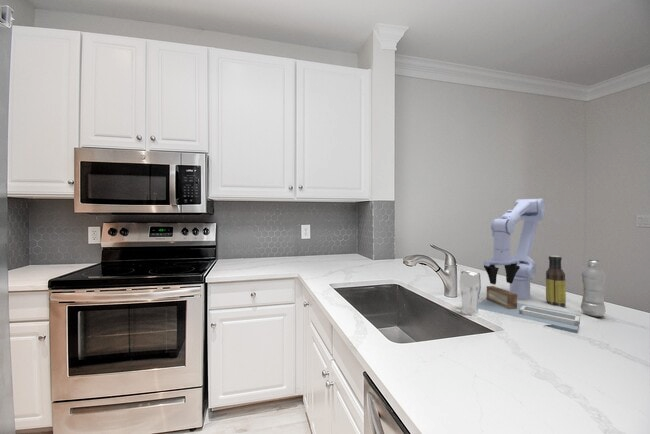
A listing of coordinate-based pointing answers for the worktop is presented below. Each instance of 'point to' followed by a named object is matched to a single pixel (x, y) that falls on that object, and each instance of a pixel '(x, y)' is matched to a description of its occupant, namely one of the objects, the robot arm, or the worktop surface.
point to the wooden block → (502, 297)
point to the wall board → (537, 315)
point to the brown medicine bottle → (555, 283)
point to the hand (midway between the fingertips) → (501, 283)
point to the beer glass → (470, 291)
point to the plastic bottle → (593, 289)
